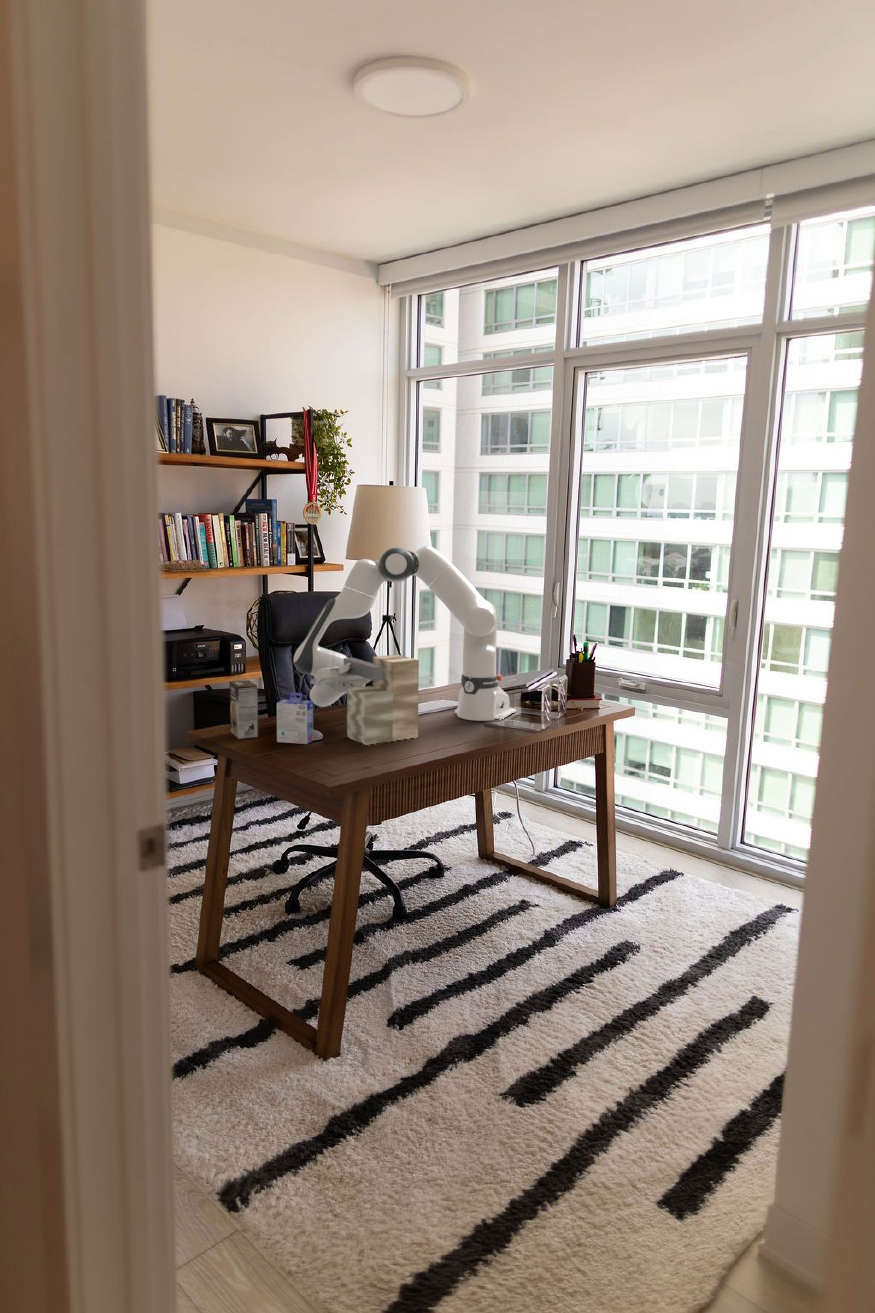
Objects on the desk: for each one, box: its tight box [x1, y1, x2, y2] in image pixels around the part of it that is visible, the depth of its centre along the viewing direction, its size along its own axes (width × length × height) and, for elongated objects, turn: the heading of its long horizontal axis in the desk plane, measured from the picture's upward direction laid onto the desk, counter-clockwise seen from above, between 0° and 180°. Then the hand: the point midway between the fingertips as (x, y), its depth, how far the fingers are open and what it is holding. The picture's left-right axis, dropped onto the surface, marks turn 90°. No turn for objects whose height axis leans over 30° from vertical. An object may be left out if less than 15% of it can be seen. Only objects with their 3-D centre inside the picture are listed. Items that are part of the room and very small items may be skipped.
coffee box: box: [228, 679, 259, 739], centre depth 272 cm, size 9×6×16 cm
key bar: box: [344, 657, 383, 682], centre depth 270 cm, size 19×3×4 cm, turn 34°
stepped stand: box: [346, 654, 420, 746], centre depth 270 cm, size 12×18×24 cm, turn 124°
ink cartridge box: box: [276, 692, 314, 745], centre depth 265 cm, size 10×6×14 cm, turn 78°
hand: (356, 665), depth 273 cm, fingers closed on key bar, 3 cm apart
